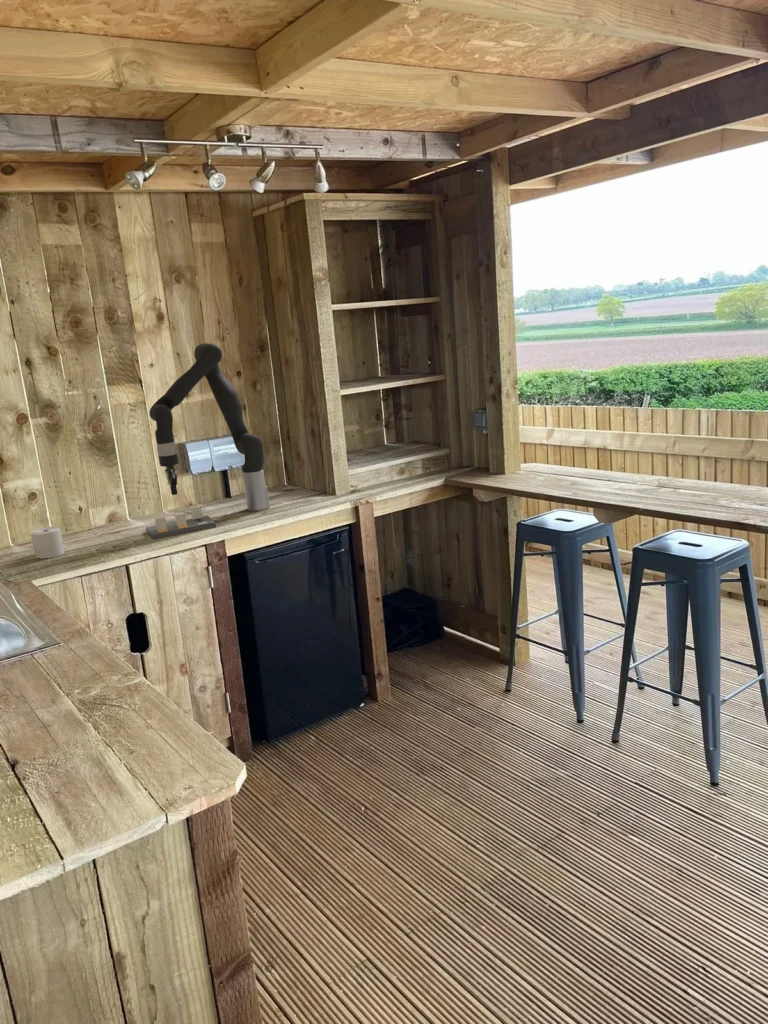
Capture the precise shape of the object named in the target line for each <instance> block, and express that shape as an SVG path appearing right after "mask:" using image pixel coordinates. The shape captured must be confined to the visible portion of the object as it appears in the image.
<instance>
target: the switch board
mask: <svg viewBox="0 0 768 1024" xmlns="http://www.w3.org/2000/svg"><path fill="white" fill-rule="evenodd" d="M186 523H187V525H186V526H181V527H178V526H177V525H176V521H171V522H166V526H167V529H165V530H160V531H158V530H157V527H156V524H155V525H150V526H146V527H145V531H146V533H147V535H148V536H149V538H151V540H156V539H161V538H166V537H172V536H178V535H182V534H186V532H187V533H192V532H191V531H193V532H196V530H198V531H201V530H200V529H203V530H207V529H206V528H208V529H211V528H210V527H213V528H216V527H217V524H216V521H214V519H213V518H211V517H210V516H209V515H202V518H200V519H195V520H194V519H193V518H192V517H191V518H188V519H187V518H186ZM215 526H216V527H215Z"/></svg>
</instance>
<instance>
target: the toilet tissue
mask: <svg viewBox="0 0 768 1024" xmlns="http://www.w3.org/2000/svg"><path fill="white" fill-rule="evenodd" d="M30 536H31V540H32V541H31V542H32V546H33V549H34V554H35V558H36V559H38V558H40V559H39V560H46V559H45V558H48V559H53V558H57V557H60V556H61V555H63V554H65V553H66V549H65V545H64V544H65V543H64V541H63V535H62V531H61V527H60V526H47V527H46V525H44V526H41V527H38V528H36V529H34V530H33V531H31V532H30ZM52 557H53V558H52ZM41 558H42V559H41ZM43 558H44V559H43Z"/></svg>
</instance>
